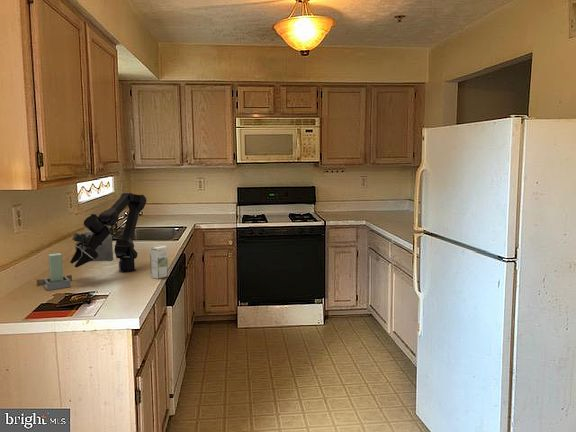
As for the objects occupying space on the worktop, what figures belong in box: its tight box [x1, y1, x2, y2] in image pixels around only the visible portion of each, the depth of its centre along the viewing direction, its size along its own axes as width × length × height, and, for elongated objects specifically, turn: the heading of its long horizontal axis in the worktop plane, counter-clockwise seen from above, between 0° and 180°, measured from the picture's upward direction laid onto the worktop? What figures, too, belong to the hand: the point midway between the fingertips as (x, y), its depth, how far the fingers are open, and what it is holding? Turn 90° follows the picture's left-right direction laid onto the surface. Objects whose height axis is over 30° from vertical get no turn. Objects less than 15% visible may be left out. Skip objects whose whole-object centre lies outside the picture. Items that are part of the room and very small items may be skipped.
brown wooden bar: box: [36, 274, 73, 287], centre depth 213 cm, size 14×2×2 cm, turn 125°
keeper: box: [43, 275, 71, 291], centre depth 207 cm, size 9×9×3 cm
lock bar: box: [47, 252, 64, 282], centre depth 206 cm, size 4×4×14 cm
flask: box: [83, 230, 114, 262], centre depth 257 cm, size 4×14×18 cm, turn 93°
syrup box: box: [149, 244, 169, 280], centre depth 221 cm, size 6×6×14 cm
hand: (73, 264), depth 210 cm, fingers open, 9 cm apart
